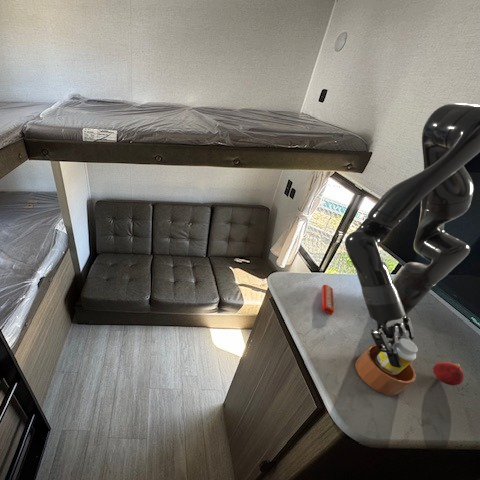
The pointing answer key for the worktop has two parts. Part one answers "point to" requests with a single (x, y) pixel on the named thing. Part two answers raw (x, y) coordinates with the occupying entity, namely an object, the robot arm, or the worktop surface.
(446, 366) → the red oval piece
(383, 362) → the supplement bottle
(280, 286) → the worktop surface
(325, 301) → the candy bar
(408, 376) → the orange-brown round open container
